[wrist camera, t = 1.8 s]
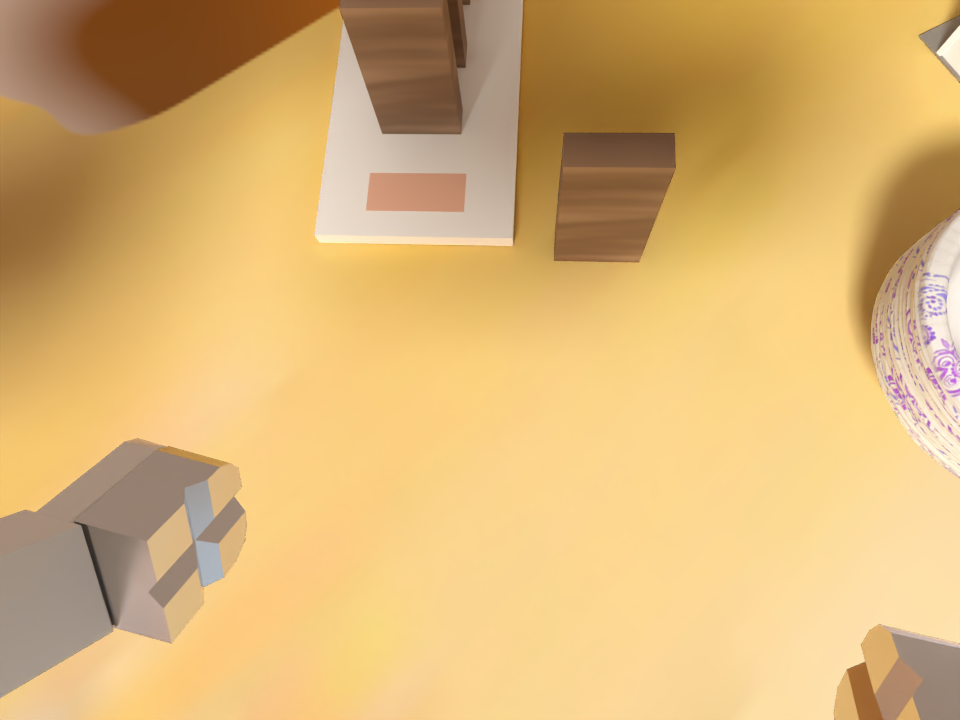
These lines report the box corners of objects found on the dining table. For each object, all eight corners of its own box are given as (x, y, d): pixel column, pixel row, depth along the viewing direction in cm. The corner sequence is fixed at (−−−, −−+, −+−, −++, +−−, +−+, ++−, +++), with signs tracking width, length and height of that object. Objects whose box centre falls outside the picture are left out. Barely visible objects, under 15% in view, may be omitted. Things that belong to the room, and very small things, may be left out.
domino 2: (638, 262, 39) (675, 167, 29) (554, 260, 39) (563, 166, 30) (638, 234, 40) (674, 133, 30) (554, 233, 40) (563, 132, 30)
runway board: (319, 242, 41) (314, 234, 40) (362, -82, 48) (358, -95, 47) (513, 246, 40) (512, 238, 39) (526, -86, 47) (526, -99, 46)
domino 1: (460, 134, 41) (441, 7, 32) (382, 134, 42) (339, 8, 32) (462, 109, 42) (443, -23, 32) (384, 109, 42) (343, -22, 32)
